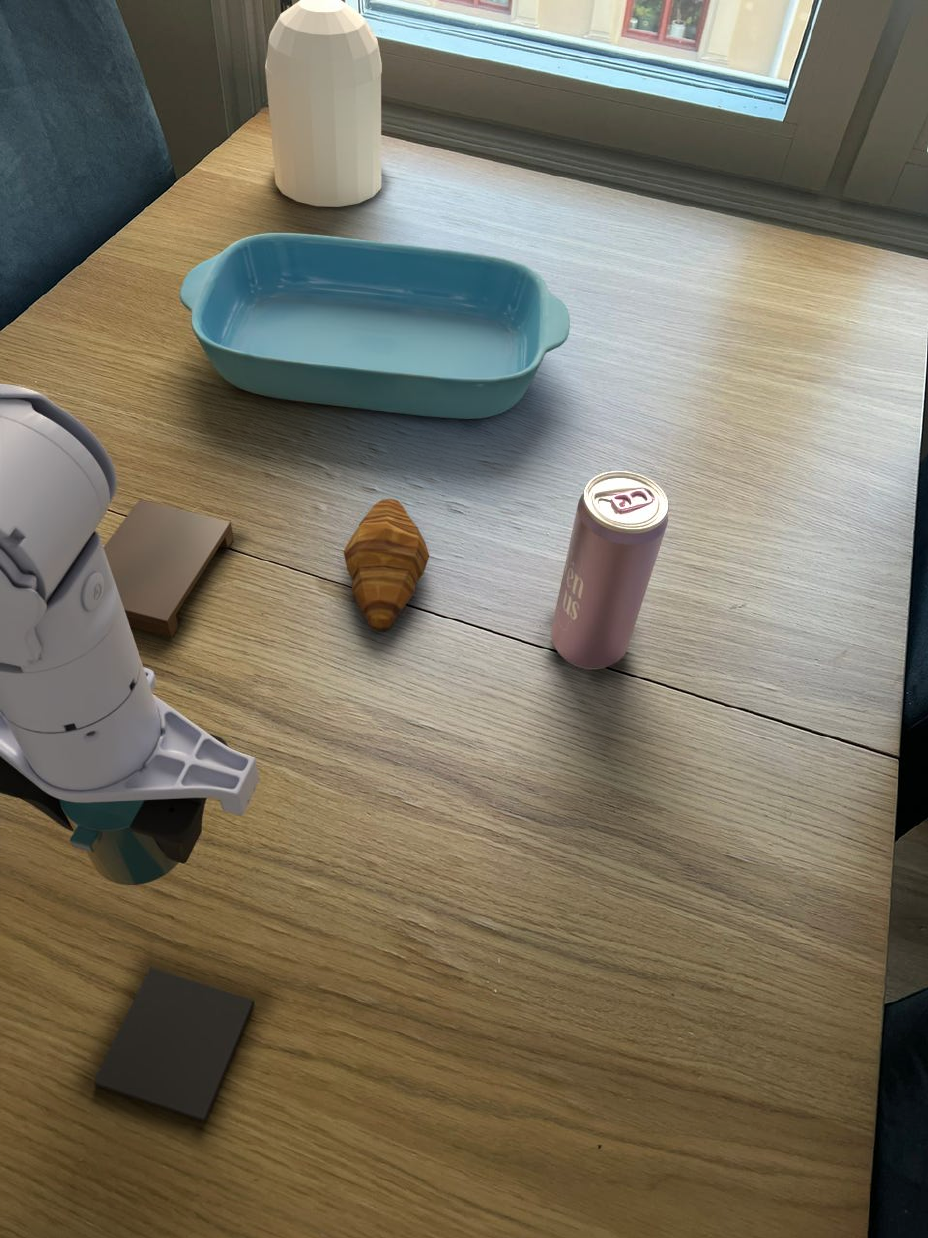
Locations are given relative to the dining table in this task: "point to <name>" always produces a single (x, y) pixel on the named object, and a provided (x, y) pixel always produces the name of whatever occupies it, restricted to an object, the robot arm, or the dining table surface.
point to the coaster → (175, 1044)
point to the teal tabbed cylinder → (116, 841)
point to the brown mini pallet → (161, 561)
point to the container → (325, 104)
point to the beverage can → (608, 567)
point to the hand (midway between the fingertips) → (136, 830)
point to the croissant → (385, 562)
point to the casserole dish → (374, 324)
